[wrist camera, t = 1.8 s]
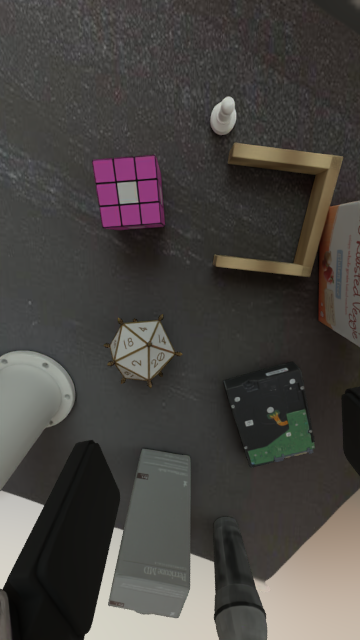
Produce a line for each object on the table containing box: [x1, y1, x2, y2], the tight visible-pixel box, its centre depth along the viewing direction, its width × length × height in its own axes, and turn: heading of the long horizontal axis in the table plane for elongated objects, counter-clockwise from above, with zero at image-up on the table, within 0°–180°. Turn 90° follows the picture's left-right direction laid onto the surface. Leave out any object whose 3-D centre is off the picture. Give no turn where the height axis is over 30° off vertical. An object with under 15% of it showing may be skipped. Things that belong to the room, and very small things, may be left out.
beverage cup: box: [213, 517, 267, 640], centre depth 35 cm, size 7×7×20 cm
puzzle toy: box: [92, 155, 165, 230], centre depth 25 cm, size 6×6×6 cm
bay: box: [213, 143, 343, 277], centre depth 27 cm, size 11×12×2 cm
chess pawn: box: [210, 97, 236, 135], centre depth 24 cm, size 3×3×4 cm
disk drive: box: [223, 362, 315, 467], centre depth 35 cm, size 10×3×15 cm
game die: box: [104, 314, 183, 388], centre depth 29 cm, size 9×8×10 cm
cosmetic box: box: [108, 449, 191, 618], centre depth 33 cm, size 8×7×16 cm
